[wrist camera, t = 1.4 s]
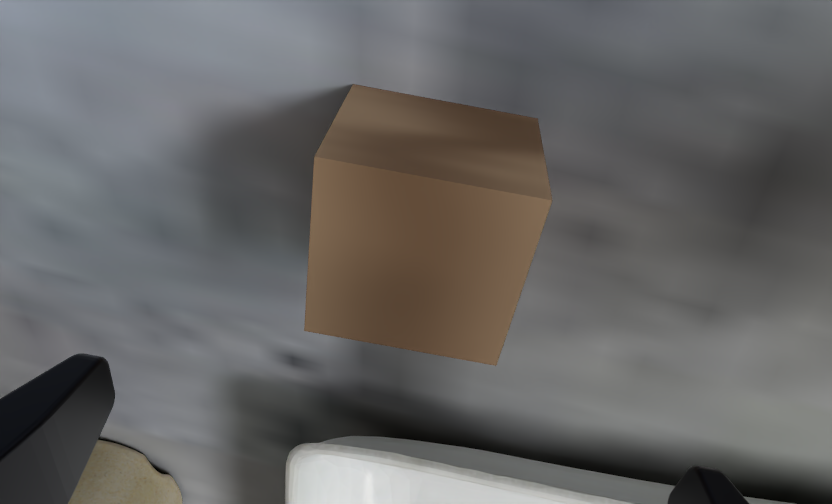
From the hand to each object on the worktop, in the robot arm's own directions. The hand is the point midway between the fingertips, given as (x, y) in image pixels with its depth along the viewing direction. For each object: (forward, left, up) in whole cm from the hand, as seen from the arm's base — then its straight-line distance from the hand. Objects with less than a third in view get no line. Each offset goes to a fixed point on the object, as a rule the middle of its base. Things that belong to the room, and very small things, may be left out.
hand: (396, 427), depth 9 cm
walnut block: (0, 0, -8) cm, 8 cm away
